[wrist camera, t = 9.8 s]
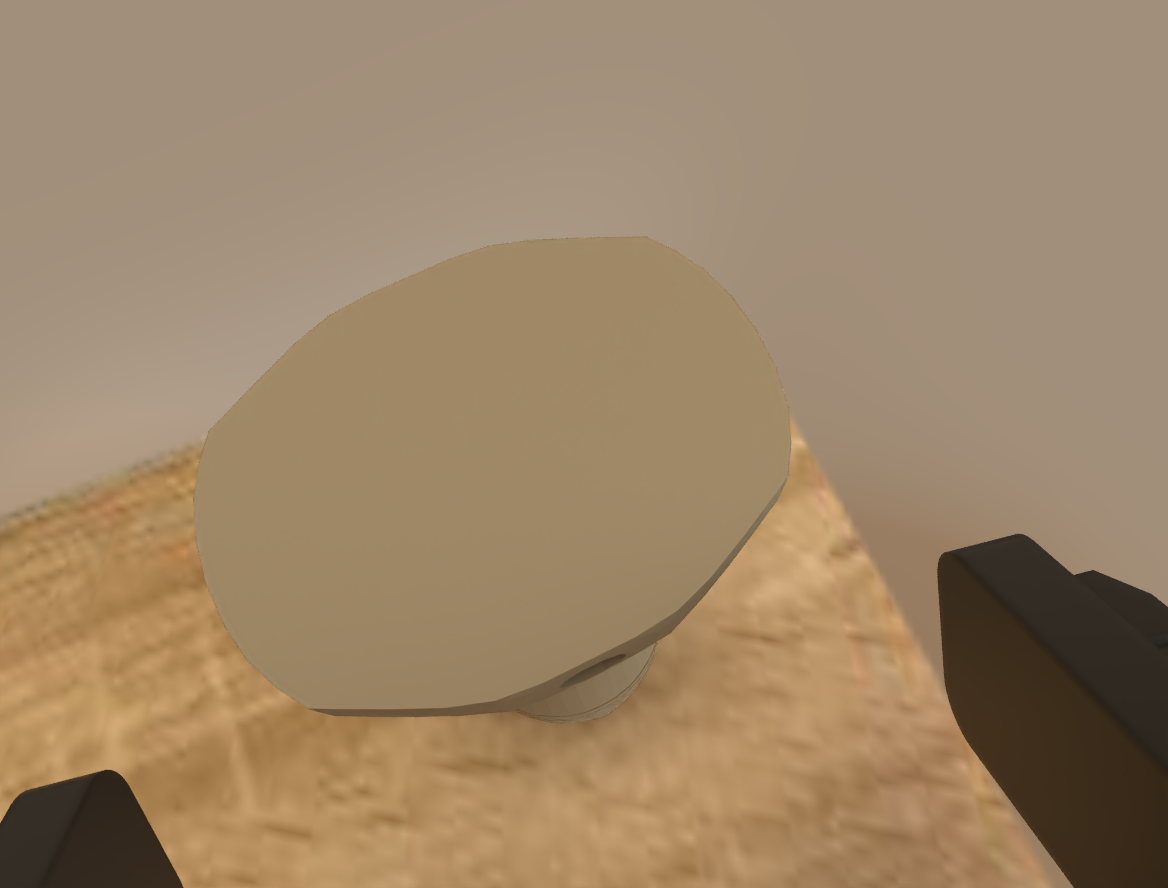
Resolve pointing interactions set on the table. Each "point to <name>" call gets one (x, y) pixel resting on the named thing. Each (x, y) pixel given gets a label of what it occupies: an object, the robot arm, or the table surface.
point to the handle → (492, 482)
